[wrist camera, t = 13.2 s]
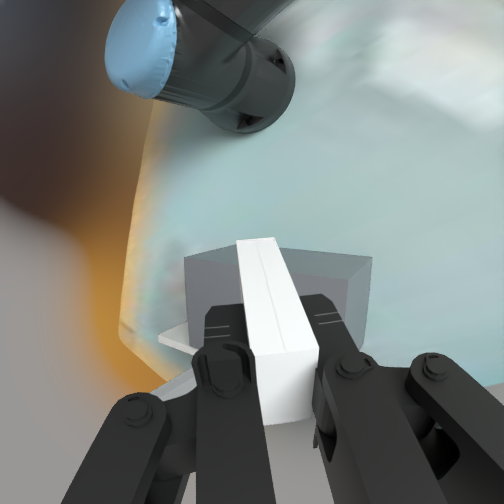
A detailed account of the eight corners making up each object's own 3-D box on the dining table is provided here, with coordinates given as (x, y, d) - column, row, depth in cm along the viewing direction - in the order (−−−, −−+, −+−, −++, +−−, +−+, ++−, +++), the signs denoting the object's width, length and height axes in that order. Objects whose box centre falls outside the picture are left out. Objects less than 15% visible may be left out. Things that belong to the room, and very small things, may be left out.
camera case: (239, 318, 51) (189, 346, 41) (238, 243, 49) (184, 257, 39) (363, 344, 41) (336, 389, 31) (372, 257, 39) (348, 279, 29)
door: (202, 340, 55) (96, 395, 36) (201, 314, 54) (88, 365, 35) (254, 356, 49) (148, 431, 30) (254, 328, 48) (141, 398, 29)
